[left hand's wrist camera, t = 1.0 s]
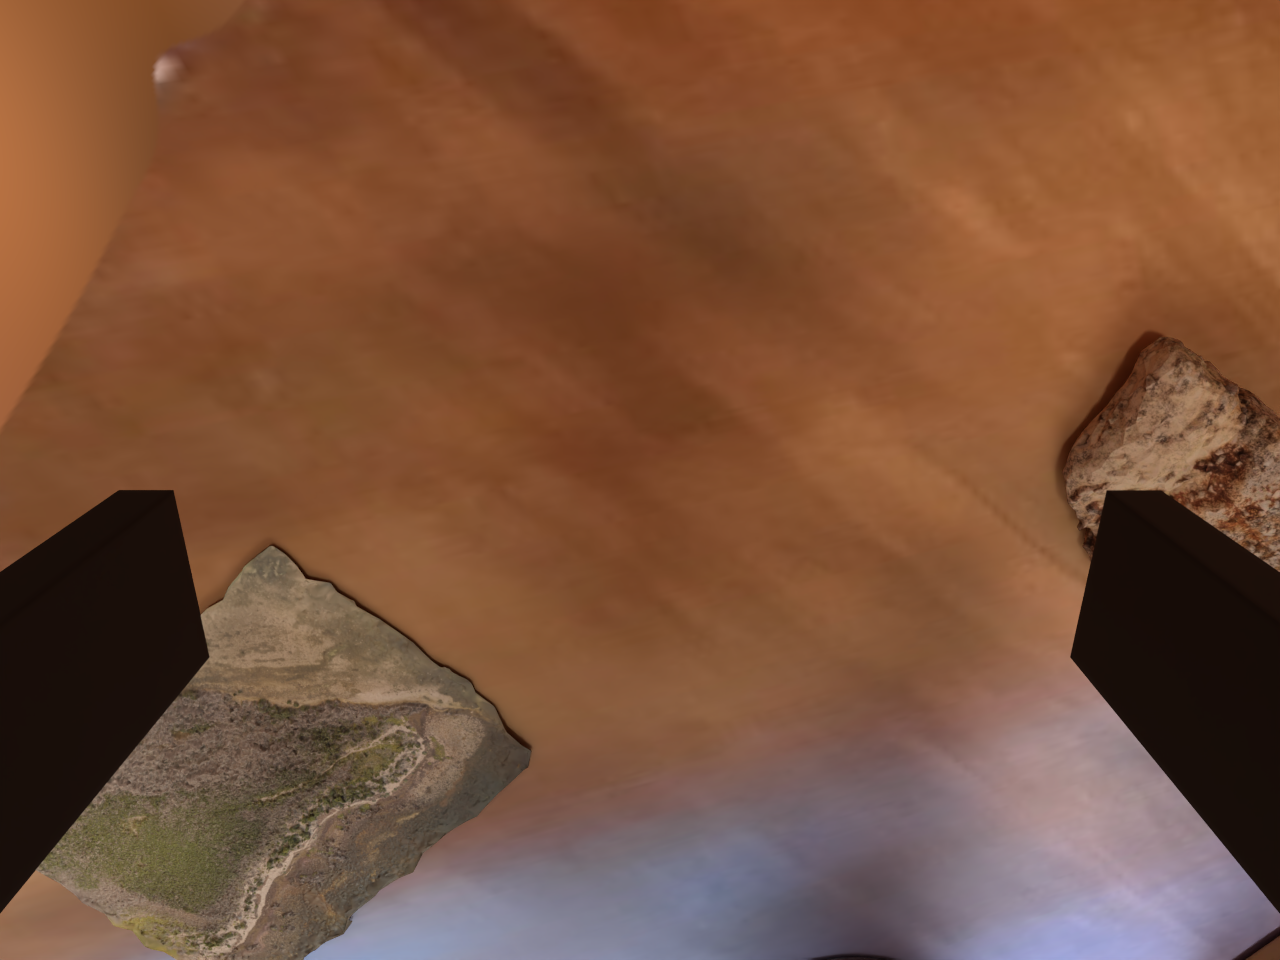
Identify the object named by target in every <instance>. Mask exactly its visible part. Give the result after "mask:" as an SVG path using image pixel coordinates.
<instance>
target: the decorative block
mask: <svg viewBox="0 0 1280 960" xmlns="http://www.w3.org/2000/svg"><path fill="white" fill-rule="evenodd" d="M1245 960H1280V936H1278V937H1277V938H1275V939H1274V940H1273V941H1271V942H1270V943H1268V944H1267V945H1265V946H1264V947H1263V948H1261V949H1260V950H1258V951H1257V952H1255V953H1254V954H1253V955H1251V956H1250V957H1248V958H1247V959H1245Z"/></svg>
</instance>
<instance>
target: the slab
mask: <svg viewBox="0 0 1280 960" xmlns="http://www.w3.org/2000/svg"><path fill="white" fill-rule="evenodd" d="M201 620H202V624H203V629H204V633H205V638H206V643H207V647H208V652H209V656H210V657H209V659H208V660H207V661H206V662H205V664H204V665H203V666H202V667H201V668H200V670H199V671H198V672H197V673H196V675H195V676H194V677H193V678H192V679H191V681H190V682H189V683H188V684H187V686H186V687H185V688H184V689H183V690H182V692H181V693H180V694H179V695H178V697H177V698H176V699H175V700H174V701H173V703H172V704H171V705H170V706H169V708H168V709H167V710H166V711H165V712H164V714H163V715H162V716H161V717H160V719H159V720H158V721H157V722H156V723H155V725H154V726H153V727H152V728H151V730H150V731H149V732H148V733H147V734H146V736H145V737H144V738H143V739H142V741H141V742H140V743H139V744H138V745H137V747H136V748H135V749H134V750H133V752H132V753H131V754H130V755H129V756H128V758H127V759H126V760H125V761H124V763H123V764H122V765H121V766H120V767H119V769H118V770H117V771H116V772H115V774H114V775H113V776H112V777H111V778H110V780H109V781H108V782H107V783H106V785H105V786H104V787H103V788H102V789H101V791H100V792H99V793H98V794H97V796H96V797H95V798H94V799H93V800H92V802H91V803H90V804H89V805H88V807H87V808H86V809H85V810H84V811H83V813H82V814H81V815H80V816H79V818H78V819H77V820H76V821H75V822H74V824H73V825H72V826H71V827H70V829H69V830H68V831H67V832H66V833H65V835H64V836H63V837H62V838H61V840H60V841H59V842H58V843H57V845H56V846H55V847H54V848H53V849H52V851H51V852H50V853H49V854H48V856H47V857H46V858H45V859H44V860H43V862H42V863H41V864H40V865H39V867H38V868H37V869H36V870H37V871H38V872H40V873H42V874H44V875H45V876H47V877H49V878H51V879H53V880H55V881H56V882H58V883H60V884H61V885H63V886H64V887H65V888H67V889H68V890H69V891H70V892H72V893H73V894H74V895H76V896H77V897H78V898H79V900H80V901H81V902H82V903H84V904H86V905H88V906H90V907H92V908H94V909H96V910H98V911H100V912H102V913H104V914H105V915H106V916H107V917H108V919H109V920H110V921H111V923H112V924H113V925H114V926H116V927H120V928H124V929H128V930H132V931H133V932H134V933H135V934H136V936H137V937H138V938H139V940H140V941H141V942H142V943H143V945H144V946H145V947H147V948H150V949H153V950H158V951H163V952H165V953H167V954H168V955H170V956H172V957H173V958H175V959H177V960H303V959H304V957H305V956H307V955H308V954H309V953H310V952H312V951H314V950H316V949H317V948H318V947H319V946H320V945H322V944H323V943H325V942H326V941H329V940H331V939H333V938H335V937H338V936H340V935H342V934H344V932H345V931H346V930H347V928H348V927H349V926H350V924H351V923H352V921H350V920H349V919H350V916H351V915H352V914H353V913H354V912H355V911H356V910H358V909H359V908H360V907H361V906H363V905H364V904H365V903H367V902H368V901H369V900H370V899H372V898H373V897H374V896H375V895H376V894H377V893H378V891H379V890H381V889H382V888H384V887H385V886H387V885H388V884H390V883H392V882H393V881H395V880H396V879H398V878H400V877H402V876H405V875H407V874H410V873H412V872H413V871H414V869H415V867H416V865H417V863H418V861H419V860H420V858H421V856H422V854H423V853H424V852H425V851H426V850H427V849H429V848H430V847H431V846H433V845H434V844H435V843H436V842H437V841H438V840H440V839H441V838H442V837H443V836H444V835H445V834H446V833H448V832H449V831H451V830H452V829H454V828H456V827H457V826H459V825H461V824H462V823H464V822H466V821H468V820H470V819H472V818H474V817H476V816H478V814H479V813H480V812H481V811H482V810H483V808H484V807H485V806H486V805H487V804H488V803H489V802H490V801H491V800H492V799H493V798H494V797H495V796H496V795H497V794H498V793H499V792H500V791H501V790H502V789H504V788H505V787H506V786H507V785H508V784H509V783H510V782H511V781H512V780H513V779H515V778H516V777H517V776H518V775H519V774H520V773H521V772H522V771H523V770H524V769H526V768H527V767H528V765H529V760H530V755H531V750H529V749H527V748H525V747H523V746H522V745H520V744H519V743H518V742H517V741H516V740H515V739H514V738H513V737H511V736H510V735H509V734H508V733H507V732H506V730H505V728H504V726H503V724H502V722H501V720H500V718H499V715H498V713H497V711H496V709H495V707H494V706H493V705H492V704H490V703H489V702H487V701H486V700H485V699H483V698H482V697H481V696H479V695H478V694H477V693H475V690H474V688H473V686H472V684H471V683H470V682H469V681H468V680H467V679H465V678H463V677H461V676H459V675H457V674H455V673H453V672H452V671H451V670H450V669H448V668H446V667H442V668H441V667H439V666H438V665H437V664H435V663H434V662H432V661H431V660H430V659H429V658H428V657H427V656H426V655H425V654H424V653H423V652H422V651H421V650H420V649H419V648H418V647H417V646H416V645H415V644H414V643H413V642H411V641H410V640H409V639H407V638H406V637H404V636H403V635H402V634H400V633H399V632H397V631H396V630H394V629H393V628H391V627H390V626H389V625H387V624H386V623H384V622H383V621H381V620H380V619H378V618H376V617H375V616H373V615H371V614H369V613H367V612H366V611H364V610H362V609H360V608H359V607H357V606H356V604H355V602H354V601H353V600H350V599H349V598H347V597H345V596H343V595H341V594H339V593H338V592H336V590H335V589H334V587H333V586H332V584H331V583H327V582H321V581H315V580H309V579H305V577H304V576H303V574H302V573H301V571H300V570H299V568H298V567H297V566H296V565H295V564H294V563H293V562H292V561H291V560H290V559H289V557H288V556H287V555H286V554H284V553H283V552H281V551H280V550H278V549H277V548H275V547H274V546H269V547H268V548H267V549H265V550H264V551H263V552H261V553H260V554H259V555H257V556H256V557H255V558H254V559H253V560H251V561H250V562H249V563H248V564H247V565H245V566H244V567H243V570H242V572H241V573H240V574H239V575H238V576H237V578H236V579H235V580H234V581H233V582H232V583H231V585H230V586H229V587H228V590H227V592H226V594H225V597H224V599H223V600H222V601H220V602H218V603H216V604H215V605H213V606H211V607H209V608H207V609H206V610H205V611H204V612H203V613H202V614H201Z"/></svg>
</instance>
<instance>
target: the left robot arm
mask: <svg viewBox="0 0 1280 960" xmlns="http://www.w3.org/2000/svg"><path fill="white" fill-rule="evenodd" d="M209 657H210V656H209V652H208V647H207V643H206V638H205V633H204V629H203V624H202V620H201V615H200V610H199V606H198V601H197V597H196V592H195V587H194V583H193V578H192V574H191V569H190V564H189V560H188V555H187V551H186V546H185V541H184V537H183V532H182V528H181V523H180V518H179V514H178V509H177V505H176V500H175V495H174V491H173V490H119V491H117V492H116V493H114V494H113V495H111V496H110V497H108V498H107V499H106V500H104V501H103V502H101V503H100V504H98V505H97V506H95V507H94V508H92V509H91V510H90V511H88V512H87V513H85V514H84V515H82V516H81V517H79V518H78V519H77V520H75V521H74V522H72V523H71V524H69V525H68V526H66V527H65V528H63V529H62V530H61V531H59V532H58V533H56V534H55V535H53V536H52V537H50V538H49V539H48V540H46V541H45V542H43V543H42V544H40V545H39V546H37V547H36V548H34V549H33V550H32V551H30V552H29V553H27V554H26V555H24V556H23V557H21V558H20V559H19V560H17V561H16V562H14V563H13V564H11V565H10V566H8V567H7V568H5V569H4V570H3V571H1V572H0V913H1V912H2V911H3V909H4V908H5V907H6V906H7V904H8V903H9V902H10V901H11V900H12V898H13V897H14V896H15V895H16V893H17V892H18V891H19V890H20V889H21V887H22V886H23V885H24V884H25V882H26V881H27V880H28V879H29V878H30V876H31V875H32V874H33V873H34V871H35V870H36V869H37V868H38V867H39V865H40V864H41V863H42V862H43V860H44V859H45V858H46V857H47V856H48V854H49V853H50V852H51V851H52V849H53V848H54V847H55V846H56V845H57V843H58V842H59V841H60V840H61V838H62V837H63V836H64V835H65V833H66V832H67V831H68V830H69V829H70V827H71V826H72V825H73V824H74V822H75V821H76V820H77V819H78V818H79V816H80V815H81V814H82V813H83V811H84V810H85V809H86V808H87V807H88V805H89V804H90V803H91V802H92V800H93V799H94V798H95V797H96V796H97V794H98V793H99V792H100V791H101V789H102V788H103V787H104V786H105V785H106V783H107V782H108V781H109V780H110V778H111V777H112V776H113V775H114V774H115V772H116V771H117V770H118V769H119V767H120V766H121V765H122V764H123V763H124V761H125V760H126V759H127V758H128V756H129V755H130V754H131V753H132V752H133V750H134V749H135V748H136V747H137V745H138V744H139V743H140V742H141V741H142V739H143V738H144V737H145V736H146V734H147V733H148V732H149V731H150V730H151V728H152V727H153V726H154V725H155V723H156V722H157V721H158V720H159V719H160V717H161V716H162V715H163V714H164V712H165V711H166V710H167V709H168V708H169V706H170V705H171V704H172V703H173V701H174V700H175V699H176V698H177V697H178V695H179V694H180V693H181V692H182V690H183V689H184V688H185V687H186V686H187V684H188V683H189V682H190V681H191V679H192V678H193V677H194V676H195V675H196V673H197V672H198V671H199V670H200V668H201V667H202V666H203V665H204V664H205V662H206V661H207V660H208V659H209ZM1070 657H1071V659H1072V660H1073V661H1074V662H1075V664H1076V665H1077V666H1078V667H1079V668H1080V670H1081V671H1082V672H1083V673H1084V675H1085V676H1086V677H1087V678H1088V679H1089V681H1090V682H1091V683H1092V684H1093V686H1094V687H1095V688H1096V689H1097V690H1098V692H1099V693H1100V694H1101V695H1102V697H1103V698H1104V699H1105V700H1106V701H1107V703H1108V704H1109V705H1110V706H1111V708H1112V709H1113V710H1114V711H1115V712H1116V714H1117V715H1118V716H1119V717H1120V719H1121V720H1122V721H1123V722H1124V723H1125V725H1126V726H1127V727H1128V728H1129V730H1130V731H1131V732H1132V733H1133V734H1134V736H1135V737H1136V738H1137V739H1138V741H1139V742H1140V743H1141V744H1142V745H1143V747H1144V748H1145V749H1146V750H1147V752H1148V753H1149V754H1150V755H1151V756H1152V758H1153V759H1154V760H1155V761H1156V763H1157V764H1158V765H1159V766H1160V767H1161V769H1162V770H1163V771H1164V772H1165V774H1166V775H1167V776H1168V777H1169V778H1170V780H1171V781H1172V782H1173V783H1174V785H1175V786H1176V787H1177V788H1178V789H1179V791H1180V792H1181V793H1182V794H1183V796H1184V797H1185V798H1186V799H1187V800H1188V802H1189V803H1190V804H1191V805H1192V807H1193V808H1194V809H1195V810H1196V811H1197V813H1198V814H1199V815H1200V816H1201V818H1202V819H1203V820H1204V821H1205V822H1206V824H1207V825H1208V826H1209V827H1210V829H1211V830H1212V831H1213V832H1214V833H1215V835H1216V836H1217V837H1218V838H1219V840H1220V841H1221V842H1222V843H1223V845H1224V846H1225V847H1226V848H1227V849H1228V851H1229V852H1230V853H1231V854H1232V856H1233V857H1234V858H1235V859H1236V860H1237V862H1238V863H1239V864H1240V865H1241V867H1242V868H1243V869H1244V870H1245V871H1246V873H1247V874H1248V875H1249V876H1250V878H1251V879H1252V880H1253V881H1254V882H1255V884H1256V885H1257V886H1258V887H1259V889H1260V890H1261V891H1262V892H1263V893H1264V895H1265V896H1266V897H1267V898H1268V900H1269V901H1270V902H1271V903H1272V904H1273V906H1274V907H1275V908H1276V909H1277V911H1278V912H1279V913H1280V572H1279V571H1277V570H1276V569H1275V568H1273V567H1272V566H1270V565H1269V564H1267V563H1266V562H1264V561H1263V560H1261V559H1260V558H1259V557H1257V556H1256V555H1254V554H1253V553H1251V552H1250V551H1248V550H1247V549H1246V548H1244V547H1243V546H1241V545H1240V544H1238V543H1237V542H1235V541H1234V540H1232V539H1231V538H1230V537H1228V536H1227V535H1225V534H1224V533H1222V532H1221V531H1219V530H1218V529H1217V528H1215V527H1214V526H1212V525H1211V524H1209V523H1208V522H1206V521H1205V520H1203V519H1202V518H1201V517H1199V516H1198V515H1196V514H1195V513H1193V512H1192V511H1190V510H1189V509H1188V508H1186V507H1185V506H1183V505H1182V504H1180V503H1179V502H1177V501H1176V500H1174V499H1173V498H1172V497H1170V496H1169V495H1167V494H1166V493H1164V492H1163V491H1161V490H1107V491H1106V495H1105V500H1104V505H1103V509H1102V514H1101V518H1100V523H1099V528H1098V532H1097V537H1096V541H1095V546H1094V551H1093V555H1092V560H1091V564H1090V569H1089V574H1088V578H1087V583H1086V587H1085V592H1084V597H1083V601H1082V606H1081V610H1080V615H1079V620H1078V624H1077V629H1076V633H1075V638H1074V643H1073V647H1072V652H1071V656H1070ZM828 960H882V959H875V958H863V957H847V958H835V959H828Z"/></svg>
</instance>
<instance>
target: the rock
mask: <svg viewBox="0 0 1280 960" xmlns="http://www.w3.org/2000/svg"><path fill="white" fill-rule="evenodd" d="M1063 476H1064V478H1065V484H1066V492H1067V499H1068V504H1069V505H1070V506H1071V507H1072V508H1073V509H1074V510H1075V512H1076V515H1077V518H1078V519H1079V521H1080V522H1079V524H1078V526H1077V528H1078V529H1079V530H1081V529H1083V528H1085V527H1088V529H1087V530H1086V535H1085V538H1084V544H1083V547H1084V549H1085V550H1086V551H1087V553H1088V554H1089V558H1090V560H1092V555H1093V551H1094V546H1095V541H1096V537H1097V532H1098V528H1099V523H1100V518H1101V514H1102V509H1103V505H1104V500H1105V495H1106V491H1107V490H1161V491H1163V492H1164V493H1166V494H1167V495H1169V496H1170V497H1172V498H1173V499H1174V500H1176V501H1177V502H1179V503H1180V504H1182V505H1183V506H1185V507H1186V508H1188V509H1189V510H1190V511H1192V512H1193V513H1195V514H1196V515H1198V516H1199V517H1201V518H1202V519H1203V520H1205V521H1206V522H1208V523H1209V524H1211V525H1212V526H1214V527H1215V528H1217V529H1218V530H1219V531H1221V532H1222V533H1224V534H1225V535H1227V536H1228V537H1230V538H1231V539H1232V540H1234V541H1235V542H1237V543H1238V544H1240V545H1241V546H1243V547H1244V548H1246V549H1247V550H1248V551H1250V552H1251V553H1253V554H1254V555H1256V556H1257V557H1259V558H1260V559H1261V560H1263V561H1264V562H1266V563H1267V564H1269V565H1270V566H1272V567H1273V568H1275V569H1276V570H1277V571H1279V572H1280V419H1279V418H1278V417H1277V415H1276V414H1275V413H1274V412H1273V411H1272V410H1271V409H1270V408H1268V407H1267V406H1266V405H1264V404H1263V402H1262V401H1261V400H1260V399H1259V398H1258V397H1256V396H1255V395H1254V394H1253V393H1251V392H1250V391H1248V390H1245V389H1243V388H1238V385H1237V384H1235V383H1233V382H1231V381H1230V380H1228V379H1226V378H1224V377H1223V376H1222V375H1221V373H1220V372H1219V371H1218V370H1217V369H1216V368H1215V367H1214V366H1213V365H1212V364H1211V363H1210V362H1208V361H1204V359H1203V358H1202V356H1198V355H1197V354H1195V353H1194V352H1192V351H1191V350H1190V349H1188V348H1186V347H1184V345H1183V343H1182V342H1181V341H1180V340H1177V339H1174V338H1168V337H1164V338H1158V339H1157V340H1156V341H1154V342H1153V343H1151V344H1150V345H1149V346H1147V347H1146V348H1145V349H1143V350H1142V351H1141V352H1140V355H1139V357H1138V359H1137V361H1136V363H1135V366H1134V368H1133V371H1132V373H1131V374H1130V376H1129V377H1128V379H1127V381H1126V382H1125V384H1124V385H1123V386H1122V387H1121V388H1120V389H1119V390H1118V391H1117V392H1116V393H1115V395H1114V396H1113V398H1112V399H1111V401H1110V402H1109V404H1108V405H1107V406H1106V407H1105V408H1104V409H1103V410H1102V411H1101V412H1100V413H1099V414H1098V415H1097V416H1096V417H1095V418H1094V419H1093V420H1092V421H1091V422H1090V423H1089V425H1088V426H1087V427H1086V428H1085V429H1084V430H1083V431H1082V433H1081V434H1080V435H1079V437H1078V438H1077V440H1076V441H1075V443H1074V445H1073V447H1072V449H1071V451H1070V453H1069V455H1068V459H1067V463H1066V466H1065V468H1064V470H1063Z"/></svg>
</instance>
